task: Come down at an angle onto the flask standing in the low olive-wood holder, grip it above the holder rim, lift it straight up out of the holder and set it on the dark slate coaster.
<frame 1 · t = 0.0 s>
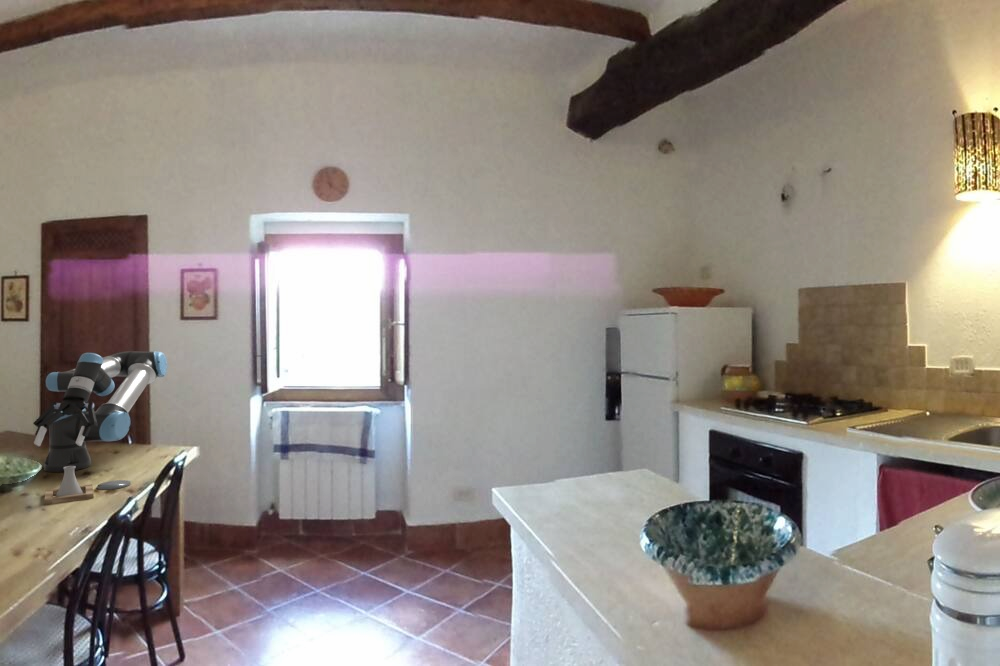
hand: (57, 444, 207), 15 cm above the table, tool tilted 35°, fingers open, 13 cm apart
coaster: (114, 485, 212), on the table
holder: (69, 496, 199), on the table
flask: (69, 497, 199), on the table
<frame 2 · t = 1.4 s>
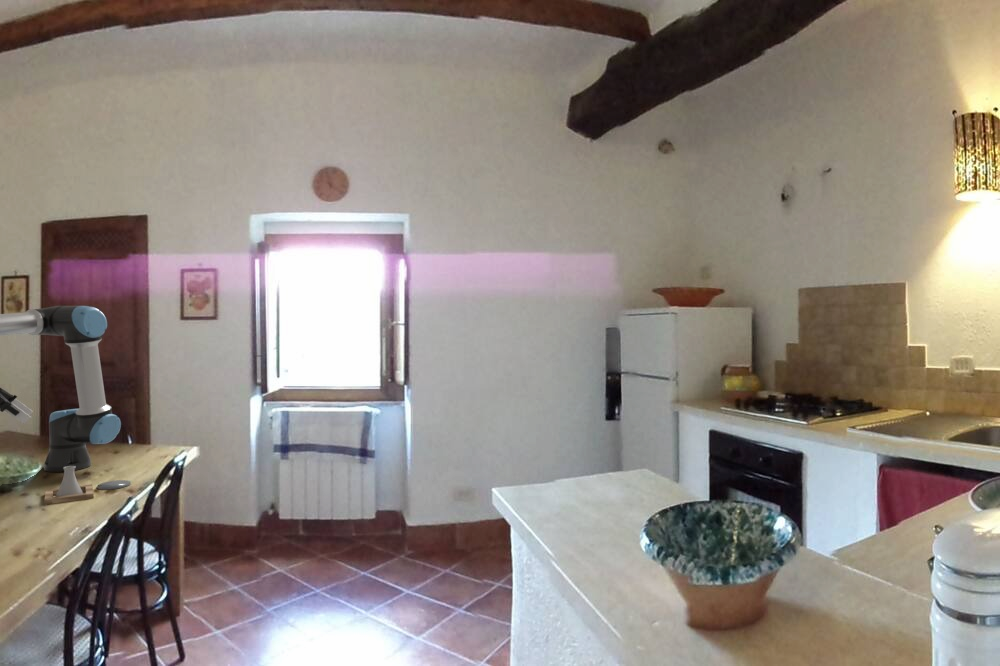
hand: (28, 417, 192), 28 cm above the table, tool tilted 45°, fingers open, 13 cm apart
nothing on the table moved.
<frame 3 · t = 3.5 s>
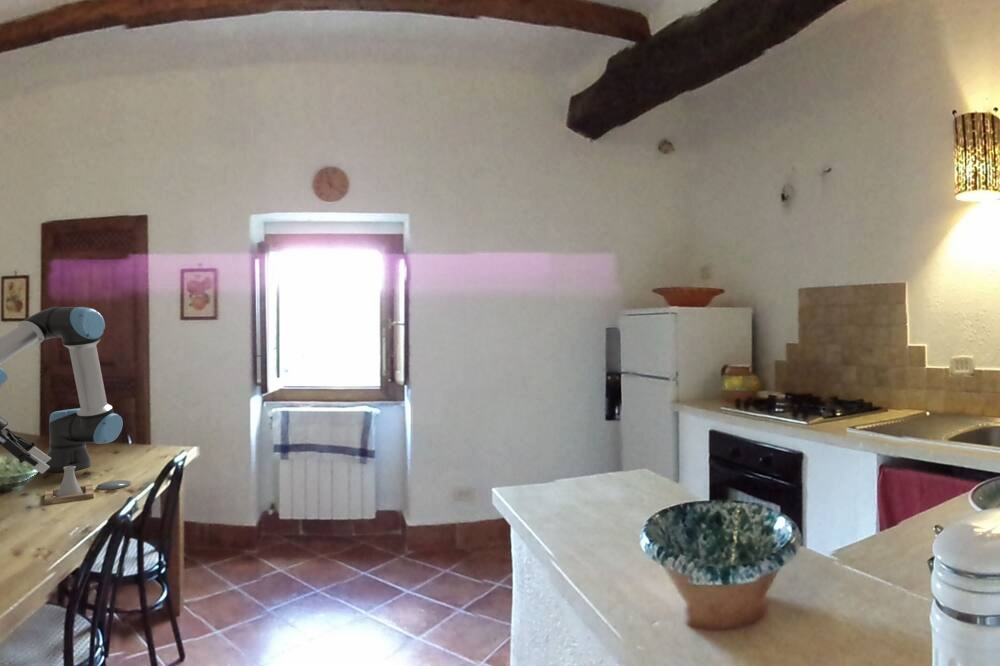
hand: (47, 465, 194), 11 cm above the table, tool tilted 45°, fingers open, 13 cm apart
nothing on the table moved.
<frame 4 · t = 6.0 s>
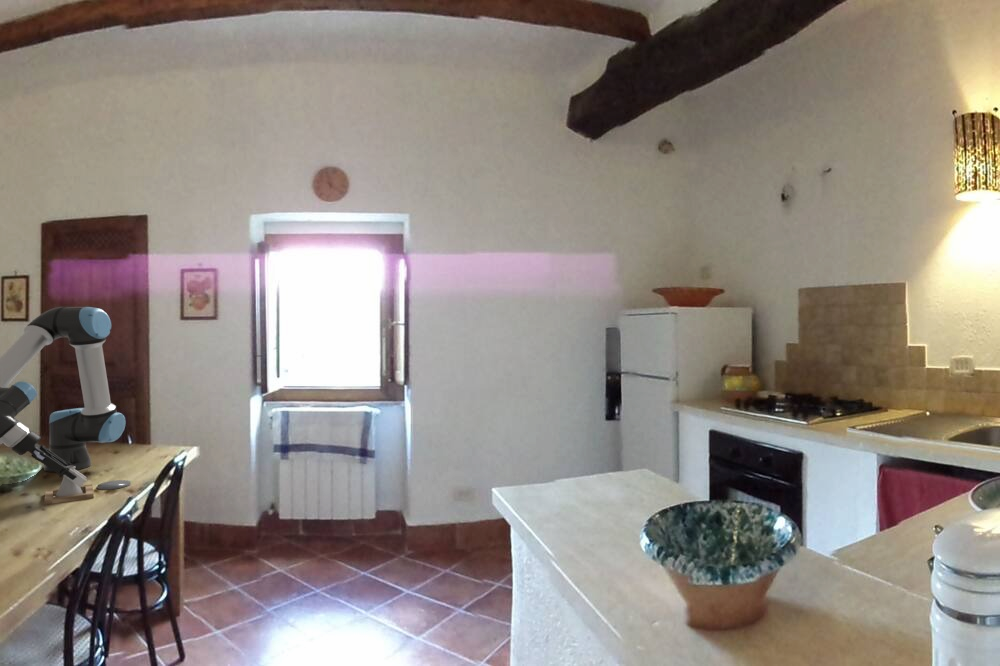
hand: (83, 482, 201), 4 cm above the table, tool tilted 45°, fingers closed on flask, 3 cm apart
flask: (69, 496, 199), on the table, touching gripper
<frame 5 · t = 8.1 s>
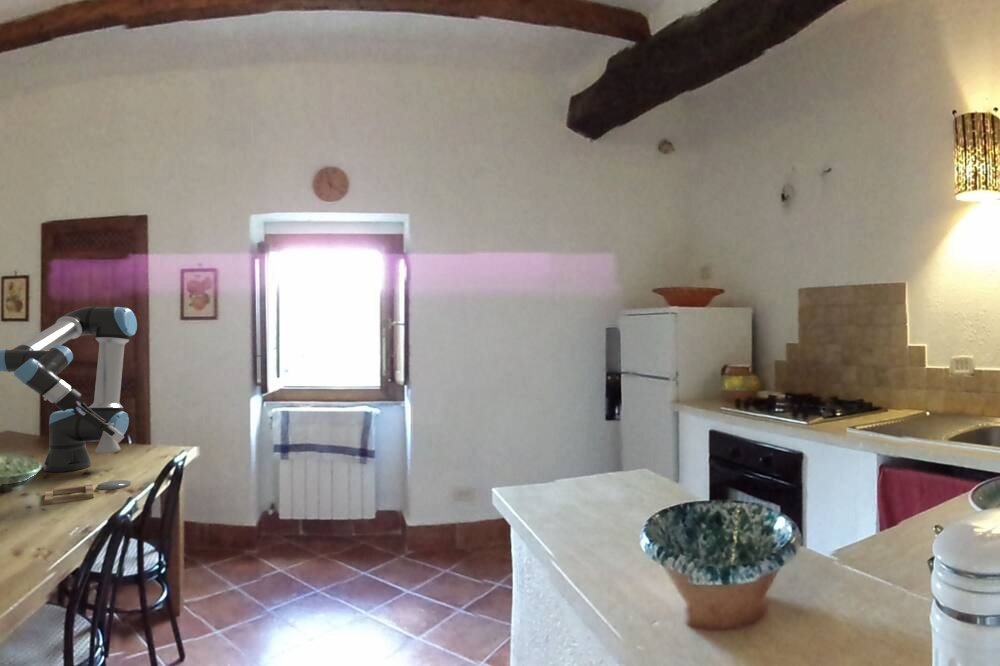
hand: (120, 438, 211), 17 cm above the table, tool tilted 45°, fingers closed on flask, 3 cm apart
flask: (108, 452, 209), point 12 cm above the table, touching gripper
when the fingers open (6 cm above the table, at t = 10.6 s): flask drops 1 cm, resting on coaster.
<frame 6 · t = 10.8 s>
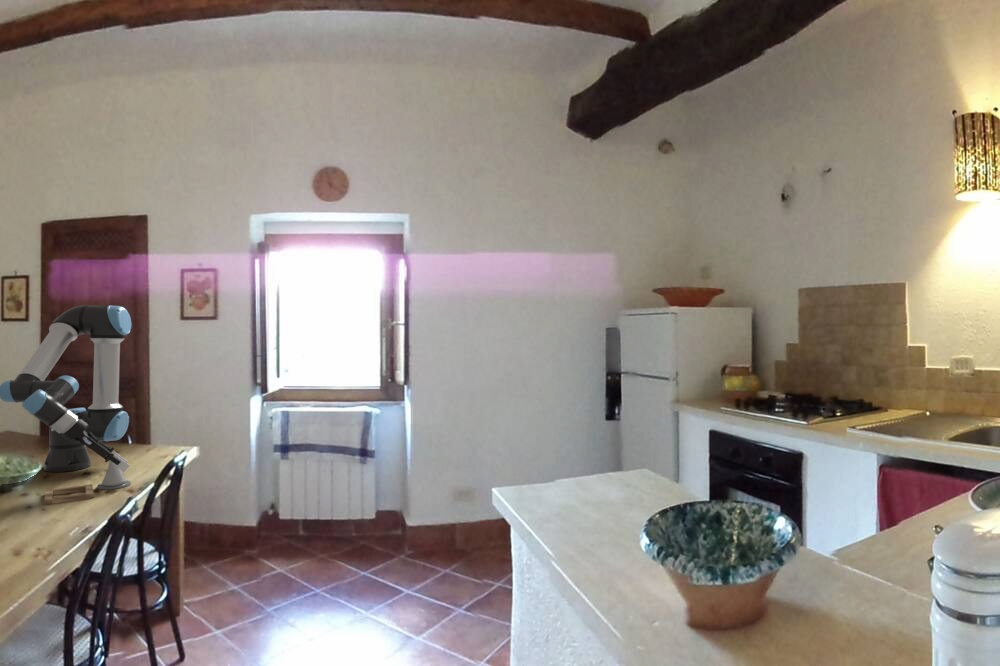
hand: (125, 466, 214), 6 cm above the table, tool tilted 45°, fingers open, 6 cm apart
flask: (113, 484, 212), resting on coaster
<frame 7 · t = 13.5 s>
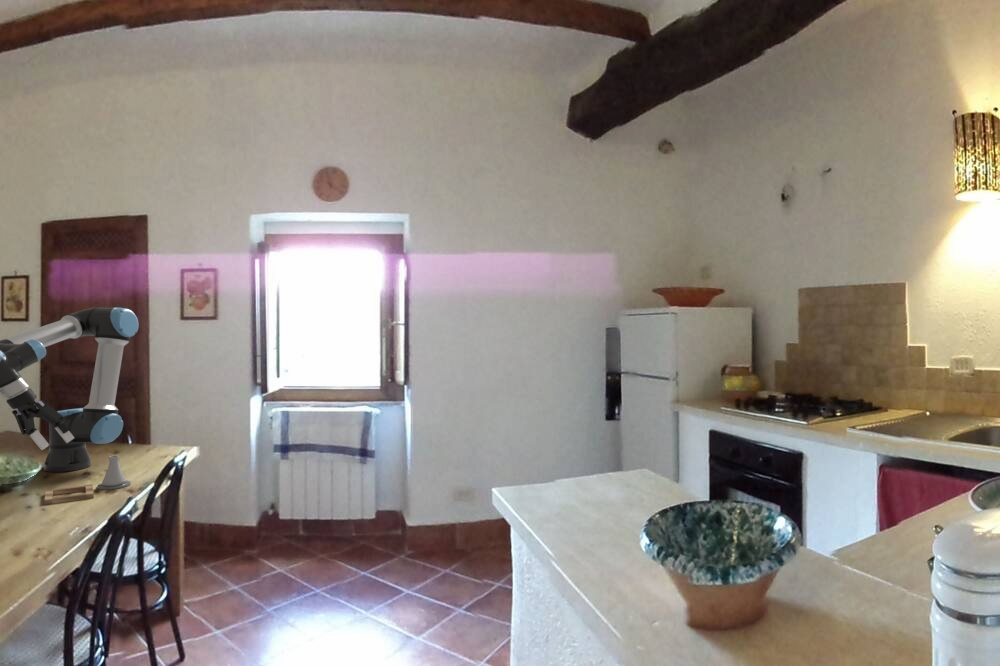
hand: (58, 444, 205), 16 cm above the table, tool tilted 30°, fingers open, 13 cm apart
nothing on the table moved.
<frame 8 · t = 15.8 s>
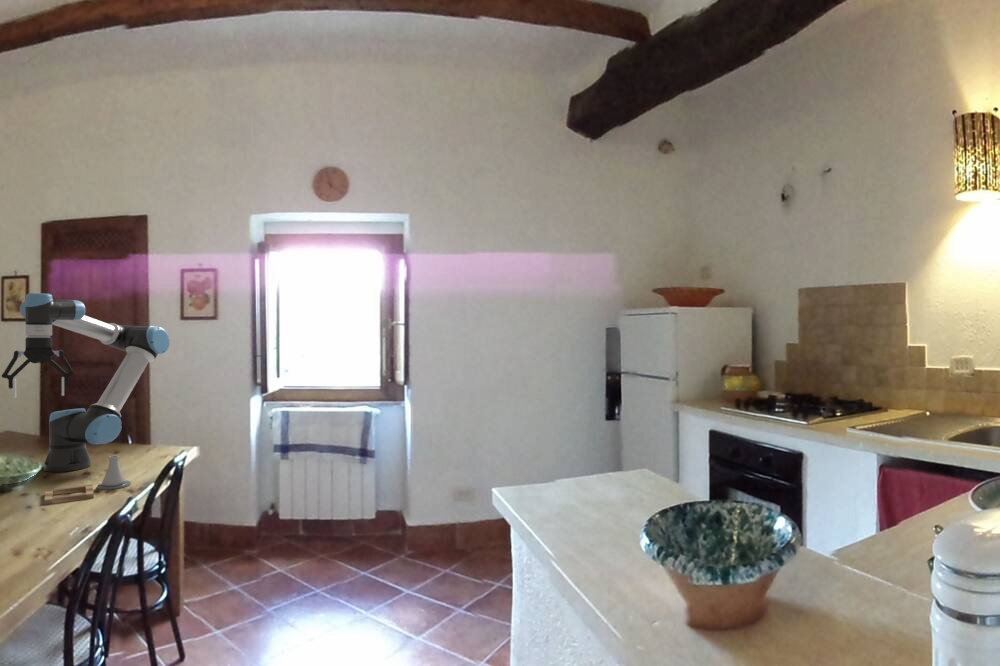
hand: (39, 396, 210), 32 cm above the table, tool pointing down, fingers open, 13 cm apart
nothing on the table moved.
at the end: flask 0.1 cm from the coaster (horizontally); flask tilted 0°; flask on the table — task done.
